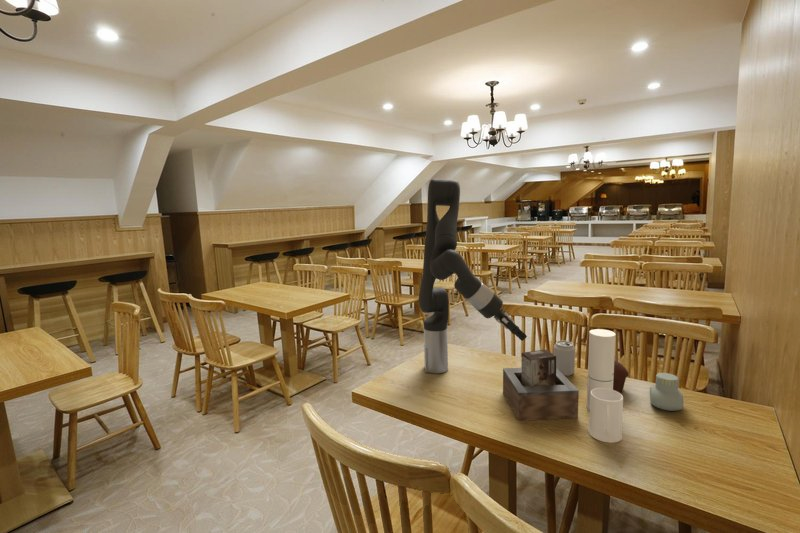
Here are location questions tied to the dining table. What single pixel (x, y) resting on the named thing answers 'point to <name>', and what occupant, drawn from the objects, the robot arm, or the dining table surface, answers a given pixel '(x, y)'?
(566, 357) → the can
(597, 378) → the cylindrical container
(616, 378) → the muffin
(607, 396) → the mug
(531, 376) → the coffee box
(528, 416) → the drop box
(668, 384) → the air freshener
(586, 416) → the dining table surface
